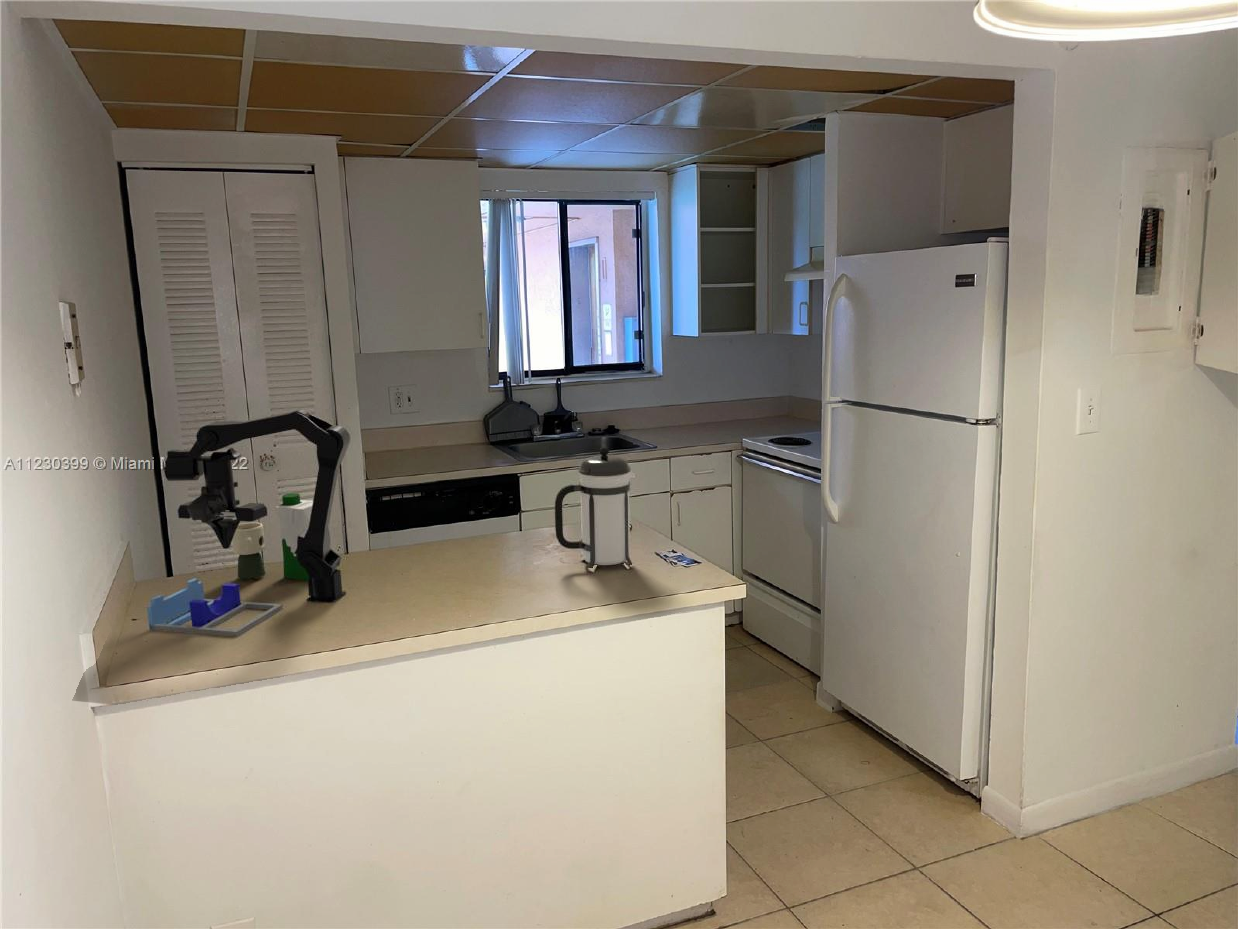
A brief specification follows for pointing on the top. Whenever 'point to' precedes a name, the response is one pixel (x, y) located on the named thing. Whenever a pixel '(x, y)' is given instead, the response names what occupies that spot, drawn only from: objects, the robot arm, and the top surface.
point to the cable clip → (215, 605)
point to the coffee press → (600, 510)
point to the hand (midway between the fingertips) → (226, 548)
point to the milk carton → (293, 532)
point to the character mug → (249, 550)
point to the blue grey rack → (179, 605)
